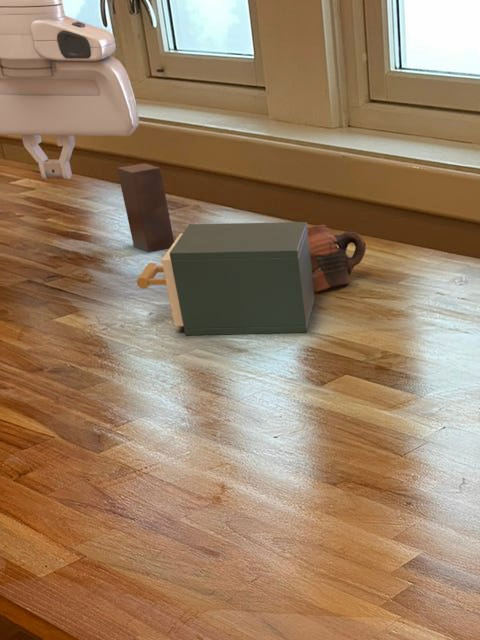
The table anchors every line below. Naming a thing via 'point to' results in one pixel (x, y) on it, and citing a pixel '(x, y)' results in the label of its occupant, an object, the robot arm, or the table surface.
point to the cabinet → (244, 278)
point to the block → (146, 207)
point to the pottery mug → (333, 256)
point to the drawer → (163, 282)
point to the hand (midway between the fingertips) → (57, 178)
